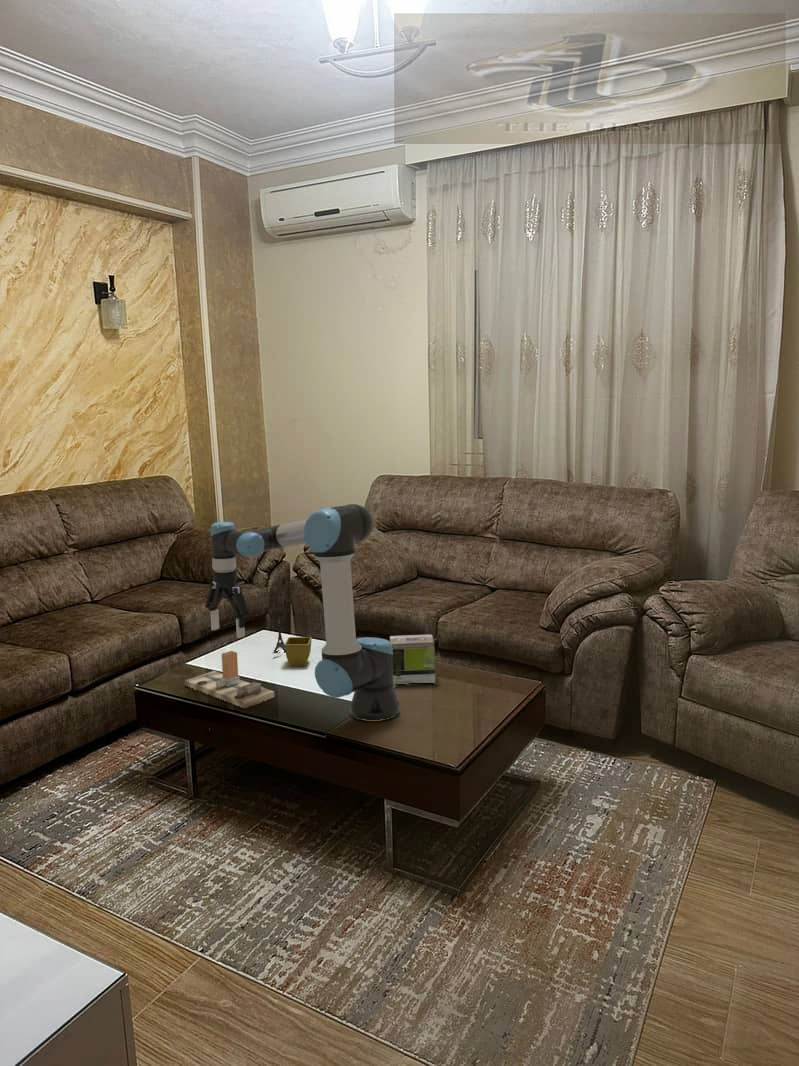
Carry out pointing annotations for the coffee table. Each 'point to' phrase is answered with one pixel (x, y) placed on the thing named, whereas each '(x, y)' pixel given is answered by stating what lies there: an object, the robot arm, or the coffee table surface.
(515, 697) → the coffee table surface
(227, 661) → the slide leg
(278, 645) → the eiffel tower figurine
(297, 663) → the flower pot
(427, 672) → the tea box
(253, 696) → the gauge board
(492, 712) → the coffee table surface
